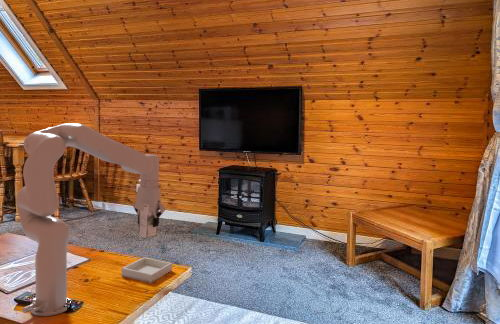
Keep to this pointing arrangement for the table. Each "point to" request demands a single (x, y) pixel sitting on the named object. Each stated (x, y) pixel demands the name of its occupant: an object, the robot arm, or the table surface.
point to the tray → (146, 269)
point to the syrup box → (146, 223)
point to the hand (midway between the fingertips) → (148, 224)
